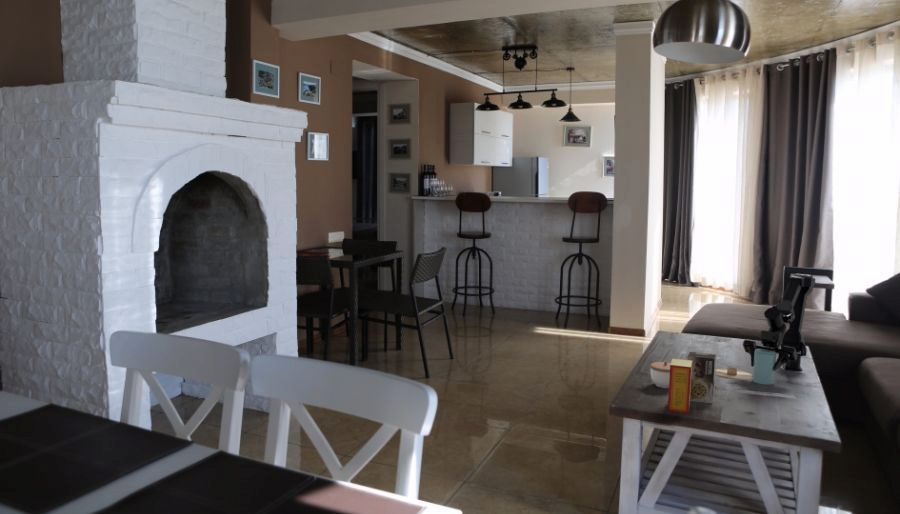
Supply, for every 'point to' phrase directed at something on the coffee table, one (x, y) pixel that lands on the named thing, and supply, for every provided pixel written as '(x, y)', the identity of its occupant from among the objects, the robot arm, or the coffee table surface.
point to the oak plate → (740, 375)
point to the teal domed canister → (764, 366)
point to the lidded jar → (660, 373)
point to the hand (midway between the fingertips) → (762, 368)
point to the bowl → (732, 370)
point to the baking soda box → (680, 385)
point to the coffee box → (702, 377)
